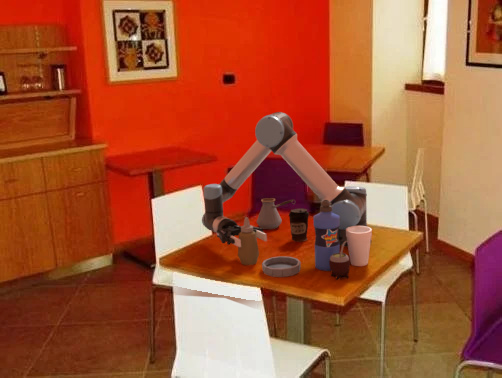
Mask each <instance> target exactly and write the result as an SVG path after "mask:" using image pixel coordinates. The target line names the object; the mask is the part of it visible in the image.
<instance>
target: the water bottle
mask: <svg viewBox="0 0 502 378" xmlns="http://www.w3.org/2000/svg"><path fill="white" fill-rule="evenodd" d="M331 204H332V203H331V202H330V201H329V200H324V201H323V202H322V201H321V202H320V207H319V208H320V212H319V213H317V214H314V215H313V217H312V218H313V227H314V233H315V239H314V266H315V268H316V269H317V270H319V271H323V272H331V269H330V265H329V260H330V257H331V256H332V254H334V253H341V249H340V248H341V246H340V243H339V238H338V232H339V225H340V219H339V215H337V214H334V213H333V212H332V206H330V205H331Z"/></svg>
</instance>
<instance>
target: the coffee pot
mask: <svg viewBox="0 0 502 378" xmlns="http://www.w3.org/2000/svg"><path fill="white" fill-rule="evenodd" d="M260 201H261V202H262V206H261V208H260V212H259V213H258V216H257V219H256V224H257V225H258V226H259V228H263V230H274V229H277V228H278V227H279V226H280V225H281V224H282V221H283V220H282V218H281V216H280V214H279V212H278V210H277V208H278V207H280V206H286V205H287V204H289V203H291V204H293V205H294V204H296V200H295V199H289V200H286V201H282V202H281V203H279V204H276V205H275V201H276V198H273V197H270V198H269V197H267V198H266V197H265V198H261V200H260ZM293 202H294V203H293Z"/></svg>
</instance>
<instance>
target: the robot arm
mask: <svg viewBox="0 0 502 378" xmlns="http://www.w3.org/2000/svg"><path fill="white" fill-rule="evenodd" d="M254 131H255V139H256V140H255V142H254V143H253V144H252V145H251V146H250V148H249V149H247V151H246V152H245V153H244V154H243V156H242V157H241V158H240V159H239V160H238V162H237V163H236V164H235V165H234V166H233V167H232V168H231V170H230V171H229V172H228V173H227V174H226V175H225V176H224V178H223V179H222V180H221V181H220V183H218V184H217V183H210V184H207V185H205V186H204V187H203V200H204V203H203V204H204V214H203V215H202V217H201V223H202V225H203V227H205V228H206V229H207V230H209V231H212V232H214V233H215V234H216V237H217V238H219V241H220V242H221V243H222V244H227V246H229V245H230V246H231V245H234V246H236V247H237V248H238V247H241V240H240V239H239V233H240V232H241V227H242V226H243V225H238V223H237V222H236V221H235V220H233V219H231V218H228V217H227V216H224V203H225V202H226V201H228V200H230V199H232V197H234V195H235V194H236V192H237V191H238V190H239V189H240V187H241V186H242V185H243V184H244V183H245V182H246V180H247V179H249V177H251V175H252V174H253V172H255V170H256V169H257V168H258V167H259V166H260V165H261V163H262V162H263V161H264V160H265V159H266V158H267V157H268V156H269V154H270V153H273V154H274V155H275V156H276V155H277V156H278V155H279V156H281V157H282V159H283V160H284V161H286V163H287V164H288V165H289V166H290V167H291V169H292V170H293V171H294V172H295V173H296V174H297V175H298V176H299V178H301V180H302V181H303V182H304V183H305V184H306V185H307V186H308V187H309V189H310V190H311V191H312V192H313V193H314V194H315V195H316V196H317V197H318V199H319V200H320V202H321V203H322V202H323V201H324V200H329V201H330V202H331V203H332V204H331V205H330V206H332V212H333V213H334V214H337V215H339V219H340V225H339V232H338V238H339V243H340V247H341V246H342V244H343V243H344V242H345V241H347V237H346V228H348V227H351V226H366V227H369V226H368V222H367V221H368V219H367V218H368V217H367V215H368V214H367V210H368V209H367V207H368V206H367V196H368V195H367V189H366V187H363V186H355V185H354V186H339V185H338V184H337V183H336V182H335V181H334V180H333V179H332V177H331V176H330V175H329V174H328V173H327V171H326V170H324V168H323V167H322V166H321V165H320V164H319V163H318V162H317V160H316V159H315V158H314V157H313V156H312V155H311V154H310V153H309V152H308V151H307V149H306V148H305V147H304V146H303V145H302V144H301V143H300V142H299V140H298V134H297V132H296V131H295V130H294V123H293V120H292V118H291V116H290V115H288V114H287V113H285V112H282V111H277V112H272V113H271V114H266V115H265V116H263V117H262V118H260V119H259V120H258V122H257V123H256V126H255V129H254ZM252 226H253V231H254V232H256V238H257V239H260V240H262V241H264V242H268V236H267V233H265V232H264V229H263V228H261V227H260V226H259V227H258V226H254V225H252ZM236 236H238V237H236ZM371 243H372V241H371V242H370V244H371ZM344 247H345V248H346V247H347V248H348V243H347V242H346V243H345V244H344ZM344 247H343V248H344Z"/></svg>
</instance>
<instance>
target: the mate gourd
mask: <svg viewBox="0 0 502 378" xmlns="http://www.w3.org/2000/svg"><path fill="white" fill-rule="evenodd" d="M347 241H348V240H347ZM347 241H345V242H344V243H343V244H342V246H340V248H341V249H340V253H334V254H332V256H331V257H330V260H329V265H330V269H331V271H330V272H331V273H330V276H331V277H333V278H335V280H336V281H338V280H340V278H341V279H349V272H350V264H351V262H350V256H349V255H347V254H346V253H345V252H343V251H344V244H345V243H346V242H347Z"/></svg>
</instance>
